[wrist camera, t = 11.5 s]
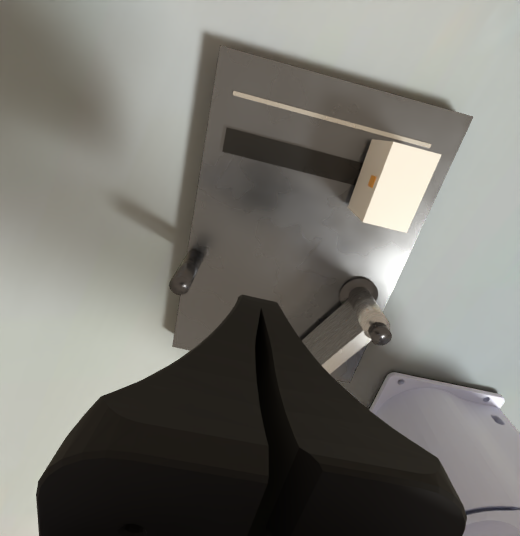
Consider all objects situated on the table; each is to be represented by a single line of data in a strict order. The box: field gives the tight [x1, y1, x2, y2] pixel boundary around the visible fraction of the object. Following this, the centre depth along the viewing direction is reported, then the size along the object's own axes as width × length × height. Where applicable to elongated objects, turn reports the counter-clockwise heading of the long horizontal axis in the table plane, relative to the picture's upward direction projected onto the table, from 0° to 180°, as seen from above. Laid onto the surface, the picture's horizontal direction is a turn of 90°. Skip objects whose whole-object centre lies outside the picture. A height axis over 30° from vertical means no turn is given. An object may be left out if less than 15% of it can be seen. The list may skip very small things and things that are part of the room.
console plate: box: [169, 45, 473, 383], centre depth 18 cm, size 13×18×6 cm
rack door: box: [302, 287, 390, 374], centre depth 20 cm, size 10×1×3 cm, turn 139°
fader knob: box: [348, 139, 441, 233], centre depth 16 cm, size 2×4×3 cm, turn 166°
